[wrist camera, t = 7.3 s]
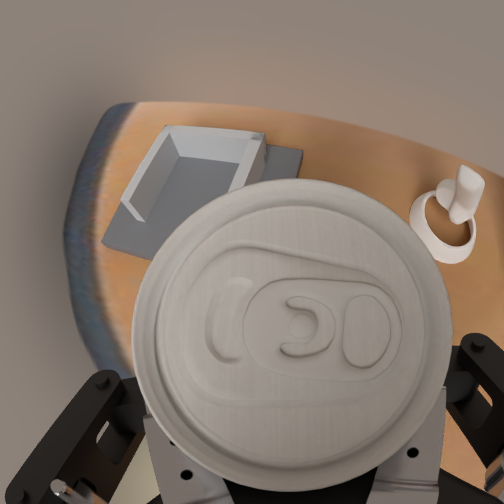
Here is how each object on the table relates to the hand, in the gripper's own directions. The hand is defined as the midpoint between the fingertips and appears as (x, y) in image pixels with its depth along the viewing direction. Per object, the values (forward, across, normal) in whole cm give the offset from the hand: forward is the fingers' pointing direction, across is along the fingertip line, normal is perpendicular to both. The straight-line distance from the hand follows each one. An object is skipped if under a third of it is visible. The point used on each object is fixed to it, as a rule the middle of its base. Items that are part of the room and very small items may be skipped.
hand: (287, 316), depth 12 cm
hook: (+14, -16, +2) cm, 21 cm away
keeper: (+17, +7, -2) cm, 18 cm away
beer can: (+4, 0, +6) cm, 8 cm away
